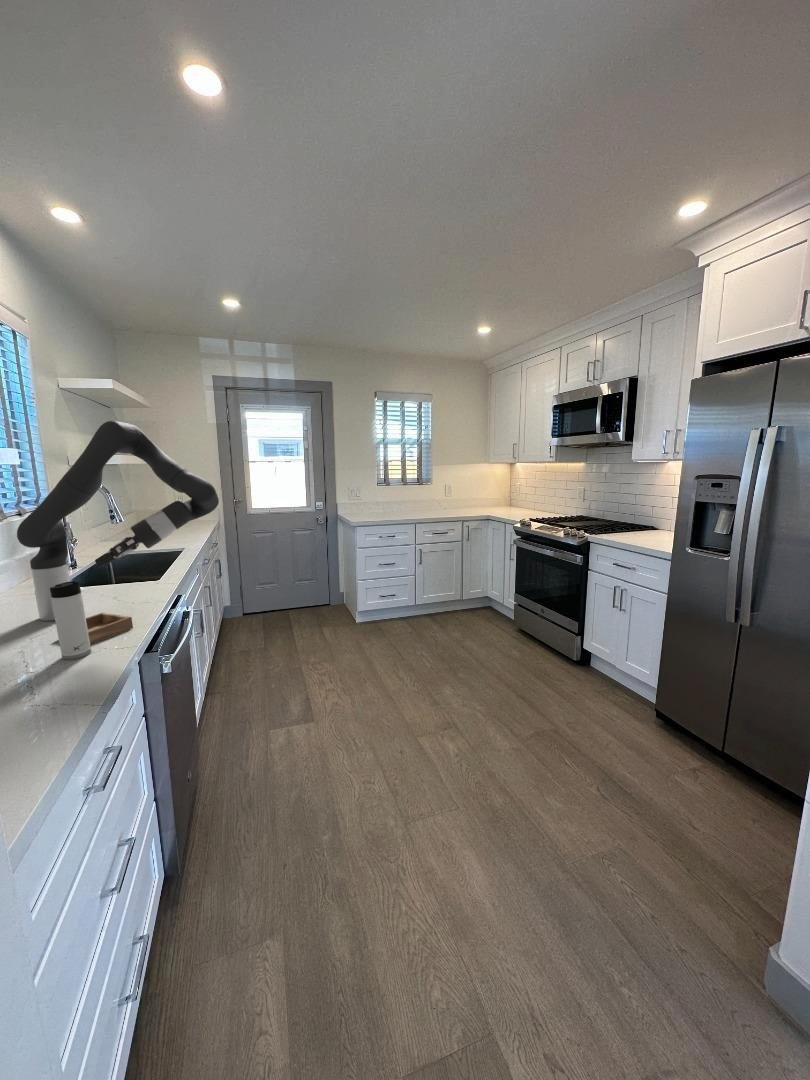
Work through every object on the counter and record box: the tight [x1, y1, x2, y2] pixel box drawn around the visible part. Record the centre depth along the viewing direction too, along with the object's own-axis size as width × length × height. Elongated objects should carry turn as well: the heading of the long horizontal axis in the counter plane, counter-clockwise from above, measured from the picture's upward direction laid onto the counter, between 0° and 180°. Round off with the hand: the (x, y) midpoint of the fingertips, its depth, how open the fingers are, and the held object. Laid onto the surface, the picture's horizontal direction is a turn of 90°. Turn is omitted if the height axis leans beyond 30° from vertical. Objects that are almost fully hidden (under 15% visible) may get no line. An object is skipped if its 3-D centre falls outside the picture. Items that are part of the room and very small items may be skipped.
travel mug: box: [50, 579, 92, 661], centre depth 115 cm, size 6×7×20 cm
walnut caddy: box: [86, 612, 134, 645], centre depth 131 cm, size 13×13×4 cm
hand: (99, 563), depth 120 cm, fingers open, 8 cm apart
